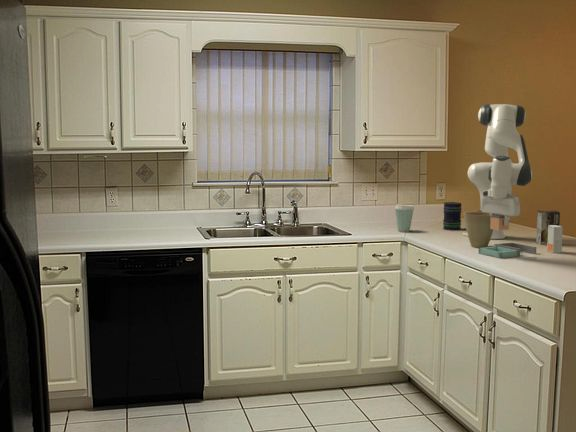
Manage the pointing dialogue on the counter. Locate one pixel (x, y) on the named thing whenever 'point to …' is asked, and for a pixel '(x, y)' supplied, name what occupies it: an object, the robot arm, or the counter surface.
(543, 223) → the coffee box
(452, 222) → the storage jar
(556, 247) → the skincare box
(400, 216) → the disposable coffee cup
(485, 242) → the plant pot
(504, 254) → the tray
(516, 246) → the bay
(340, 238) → the counter surface
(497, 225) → the orange-topped grey box
